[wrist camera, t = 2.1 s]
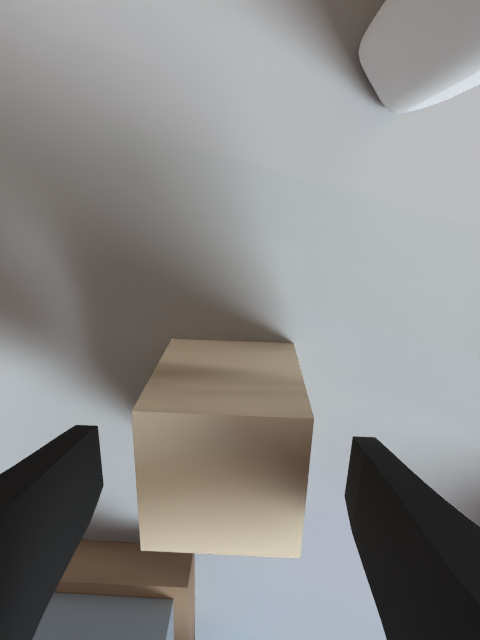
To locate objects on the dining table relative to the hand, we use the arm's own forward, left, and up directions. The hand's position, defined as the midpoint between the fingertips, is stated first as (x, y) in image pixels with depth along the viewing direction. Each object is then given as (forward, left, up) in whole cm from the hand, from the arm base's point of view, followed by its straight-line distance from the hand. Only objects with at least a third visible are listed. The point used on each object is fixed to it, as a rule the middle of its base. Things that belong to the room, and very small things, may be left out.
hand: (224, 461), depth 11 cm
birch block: (0, 0, -4) cm, 4 cm away
